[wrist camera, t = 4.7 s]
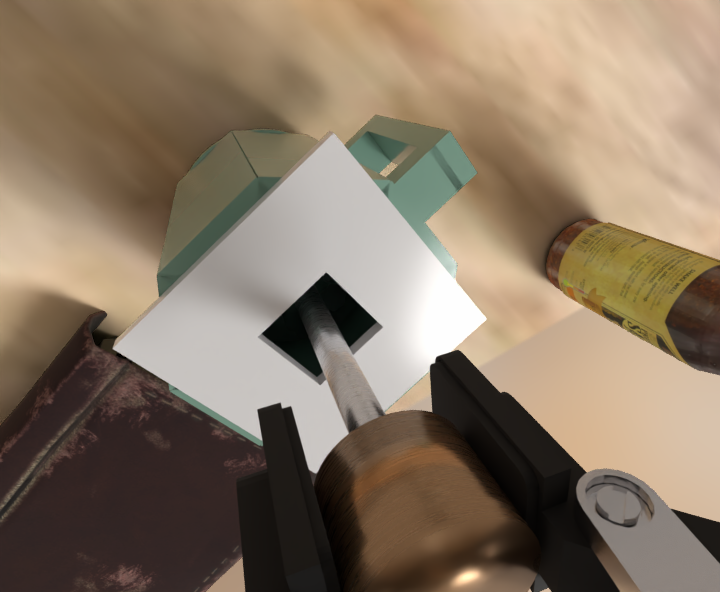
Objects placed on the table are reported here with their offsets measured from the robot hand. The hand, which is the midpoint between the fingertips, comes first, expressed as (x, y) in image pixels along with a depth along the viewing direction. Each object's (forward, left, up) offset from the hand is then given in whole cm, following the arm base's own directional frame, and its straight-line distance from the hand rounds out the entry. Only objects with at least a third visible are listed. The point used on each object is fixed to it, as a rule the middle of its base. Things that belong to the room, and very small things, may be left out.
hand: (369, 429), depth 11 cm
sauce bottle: (+8, +23, -20) cm, 31 cm away
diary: (+18, -15, -20) cm, 31 cm away
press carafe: (-1, +1, -19) cm, 19 cm away
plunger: (0, 0, -11) cm, 11 cm away
